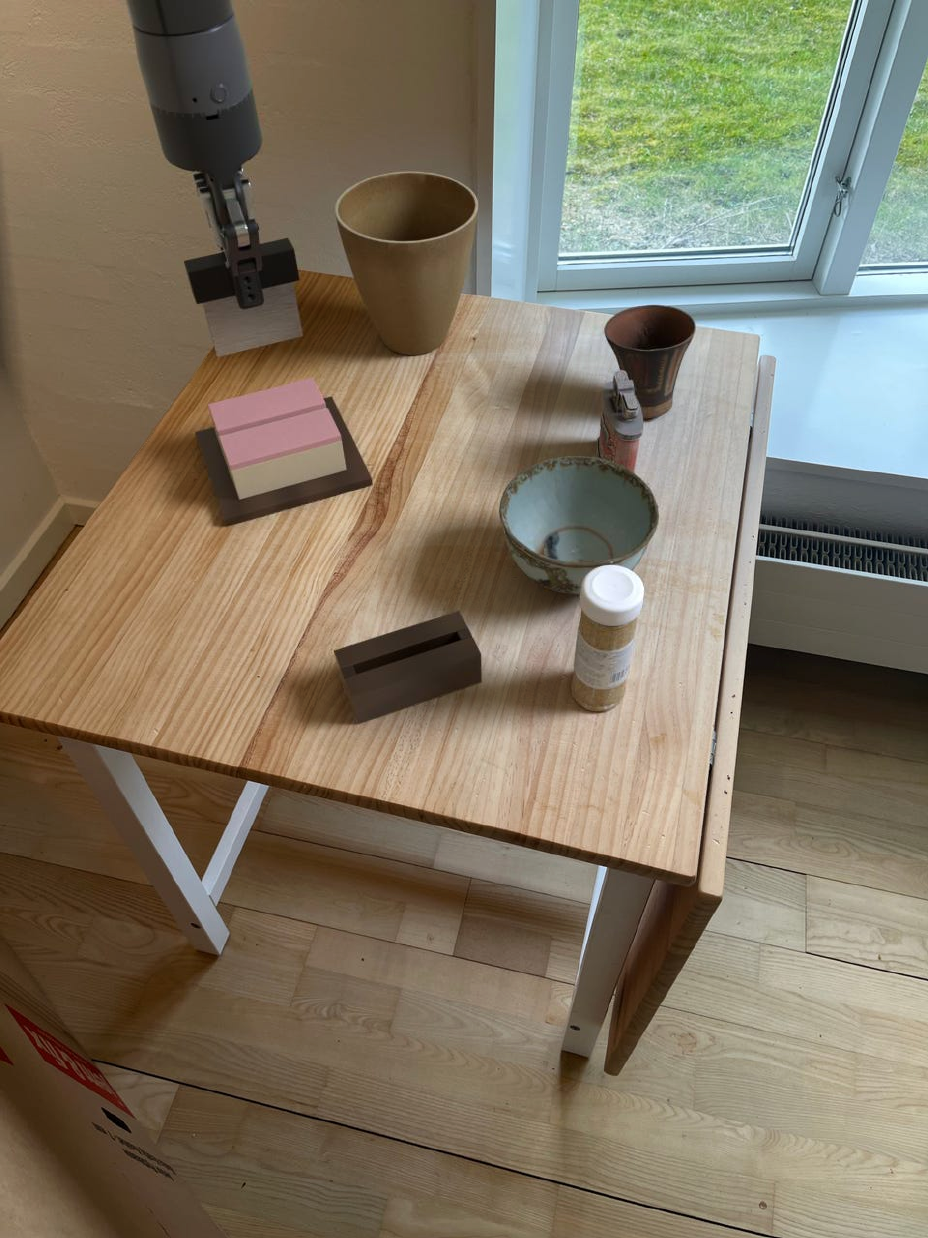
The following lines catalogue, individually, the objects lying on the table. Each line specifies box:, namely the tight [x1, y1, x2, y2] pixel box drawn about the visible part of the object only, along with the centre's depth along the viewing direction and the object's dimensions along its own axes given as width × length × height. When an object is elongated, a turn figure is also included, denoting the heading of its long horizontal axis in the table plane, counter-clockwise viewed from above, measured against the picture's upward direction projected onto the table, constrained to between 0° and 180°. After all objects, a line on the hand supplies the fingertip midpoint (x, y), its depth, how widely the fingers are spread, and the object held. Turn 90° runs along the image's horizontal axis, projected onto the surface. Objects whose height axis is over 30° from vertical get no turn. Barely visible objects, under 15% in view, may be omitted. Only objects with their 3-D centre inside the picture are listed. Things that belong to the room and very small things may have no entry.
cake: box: [219, 408, 346, 500], centre depth 93 cm, size 11×4×4 cm, turn 112°
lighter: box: [595, 369, 644, 474], centre depth 92 cm, size 8×3×10 cm, turn 6°
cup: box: [603, 304, 697, 419], centre depth 98 cm, size 9×9×10 cm
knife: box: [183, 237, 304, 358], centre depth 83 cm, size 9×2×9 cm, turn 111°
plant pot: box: [334, 171, 479, 356], centre depth 104 cm, size 15×15×16 cm
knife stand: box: [333, 610, 483, 725], centre depth 78 cm, size 11×5×4 cm, turn 112°
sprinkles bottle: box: [570, 565, 645, 712], centre depth 74 cm, size 5×5×13 cm
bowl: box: [498, 455, 660, 595], centre depth 84 cm, size 14×13×8 cm
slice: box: [207, 377, 326, 464], centre depth 97 cm, size 11×4×4 cm, turn 112°
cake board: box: [194, 395, 373, 527], centre depth 97 cm, size 15×14×1 cm
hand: (248, 296), depth 82 cm, fingers closed on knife, 2 cm apart
